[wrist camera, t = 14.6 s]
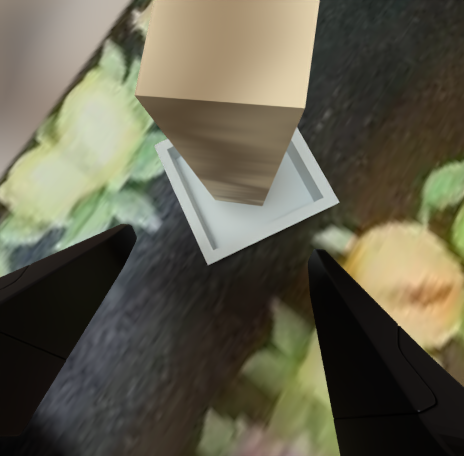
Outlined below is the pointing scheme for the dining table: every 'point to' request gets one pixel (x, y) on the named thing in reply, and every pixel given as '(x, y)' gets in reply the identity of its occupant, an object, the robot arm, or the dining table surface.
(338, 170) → the dining table surface
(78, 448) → the dining table surface
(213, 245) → the tray
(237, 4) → the birch block
